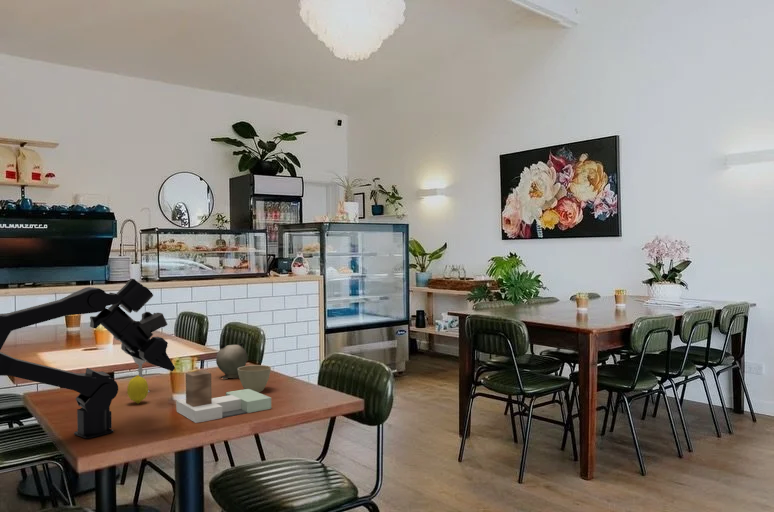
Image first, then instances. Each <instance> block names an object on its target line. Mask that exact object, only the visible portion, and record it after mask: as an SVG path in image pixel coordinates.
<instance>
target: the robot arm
mask: <svg viewBox="0 0 774 512" xmlns="http://www.w3.org/2000/svg"><path fill="white" fill-rule="evenodd" d="M153 297H154V294H153V293H152V291H151V290H150V289H149V287H146V286H144V285H143V284H141V283H140V282H138V281H137V279H135V278H130V279H129V280H128V281H127V282H126V283H125V284H124V285H123V287H122V288H120V290H119V291H118V292H116V293H115V292H109V293H108V292H105V290H103V289H102V288H98V287H92V286H89V287H84V288H81V289H80V290H77V291H75V292H73V293H71V294H68V295H67V296H65V297H62V298H61V299H58V300H54V301H50V302H49V301H48V302H45V303H43V304H38V305H33V306H31V307H26V308H24V309H18V310H15V311H11V312H7V313H0V377H1V376H2V377H3V376H5V377H7V376H8V377H9V376H10V377H13V378H18V379H23V380H27V381H30V382H35V383H41V384H44V385H49V386H53V387H57V388H61V389H66V390H70V391H74V392H76V393H79V394H78V395H77V396H76V397H75V401H76V403H77V405H78V406H79V407H80V408H78V409H77V410H76V412H77V413H76V414H77V416H76V417H77V418H76V419H77V425H76V426H77V431H74V432H73V435H75V436H77V437H78V436H79V437H81V438H83V439H85V440H87V439H92V438H93V439H94V438H97V437H100V436H105V435H107V434H111V433H113V432H114V429H112V428H113V427H112V425H113V424H112V423H113V422H112V419H113V417H112V411H111V409H110V408H111V404H112V401H113V400H114V399H115V398H116V397H117V395H118V393H119V385H118V382H117V381H116V380H115V379H113V378H111V375H110V374H108V373H106V372H105V371H102V370H101V371H96V370H94V369H91V368H89V367H87V368H86V370H85V373H84V372H79V373H78V372H77V373H76V372H73V371H69V370H64V369H60V368H57V367H52V366H48V365H44V364H39V363H36V362H32V361H27V360H24V359H20V358H16V357H13V356H10V355H8V354H6V353H3V352H2V351H1V350H2V348H3V347H4V345H5V342H6V341H7V340H8V339H7V338H8V337H9V335H10V334H11V332H12V331H15V330H19V329H21V328H25V327H31V326H33V325H37V324H41V323H45V322H49V321H51V320H55V319H58V318H62V317H65V316H75V315H87V314H95V313H97V314H96V316H92V315H91V316H89V320H90V322H89V324H90V325H89V327H90V328H93V329H97V328H99V326H100V325H101V326H102V327H103V328H104V329H105V330H107V331H108V332H109V333H110V334H111V335H112V336H113V338H114V339H115V340H116V341H118V342H120V343H121V347H120V348H121V351H123V352H124V353H125V354H127V355H129V356H130V357H132V356H133V357H135V358H138V359H141V360H144V361H145V363H148V364H151V365H153V366H156V367H158V368H161V369H165V370H167V371H171V372H173V371H174V370H175V369H176V366H175V365H174V364H173V362H172V360H171V358H170V357H169V356H168V354H167V348H168V342H167V341H166V339H164V337H160V336H153V335H154V333H153V332H156V331H158V330H159V329H161V328H165V327H167V326H168V323H167V320H166V318H165V316H164V313H161V312H153V314H152V313H151V312H150V311H145V312H143V313H142V314H141V319H140V321H138V320H135V319H133V318H132V317H131V316H130V315H129V314H131V313H132V312H134V313H138V312H139V311H140V310H141V309H142V308H143V307H144V306H145V305H146V304H147V303H148V302H149V301H150V300H151V299H152V298H153ZM109 306H110V307H109ZM107 307H108V308H107ZM123 309H124V310H125V311H126V312H125V311H124V310H123ZM127 313H129V314H127ZM130 351H131V352H130Z"/></svg>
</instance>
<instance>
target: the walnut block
mask: <svg viewBox="0 0 774 512" xmlns="http://www.w3.org/2000/svg"><path fill="white" fill-rule="evenodd" d="M212 395H213V394H212V373H211V372H209V371H207V370H198V371H190V372H185V399H186V403H187V404H189V405H190V406H192V407H195V406H201V405H207V404H212V398H213V397H212Z"/></svg>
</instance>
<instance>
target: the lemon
mask: <svg viewBox="0 0 774 512" xmlns="http://www.w3.org/2000/svg"><path fill="white" fill-rule="evenodd" d="M148 390H149V384H148V381H147V380H146V378H144V376H143V377H140V376H139V374H138V375H136V376H135V377H132V378H131V379H129V382H128V385H127V391H126V393H127V396H128V398H129V399H130V400H131V401H133V402H135V404H140V403H141V402H142V401H144V400H145V399H146V398H147V396H148V393H149V392H148Z"/></svg>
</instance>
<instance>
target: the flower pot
mask: <svg viewBox="0 0 774 512" xmlns="http://www.w3.org/2000/svg"><path fill="white" fill-rule="evenodd" d="M271 370H272V367H271V366H269V365H264V364H263V365H262V364H251V365H245V366H243V367H239V368H238V375H239V378H238V379H239V381H240V383H241V386H242V387H243V390H244V389H251V390H253V391H256V392H258V393H261V392H263V391H264V389H265V388H266V386H267V383H268V381H269V378H270V375H271Z"/></svg>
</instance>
